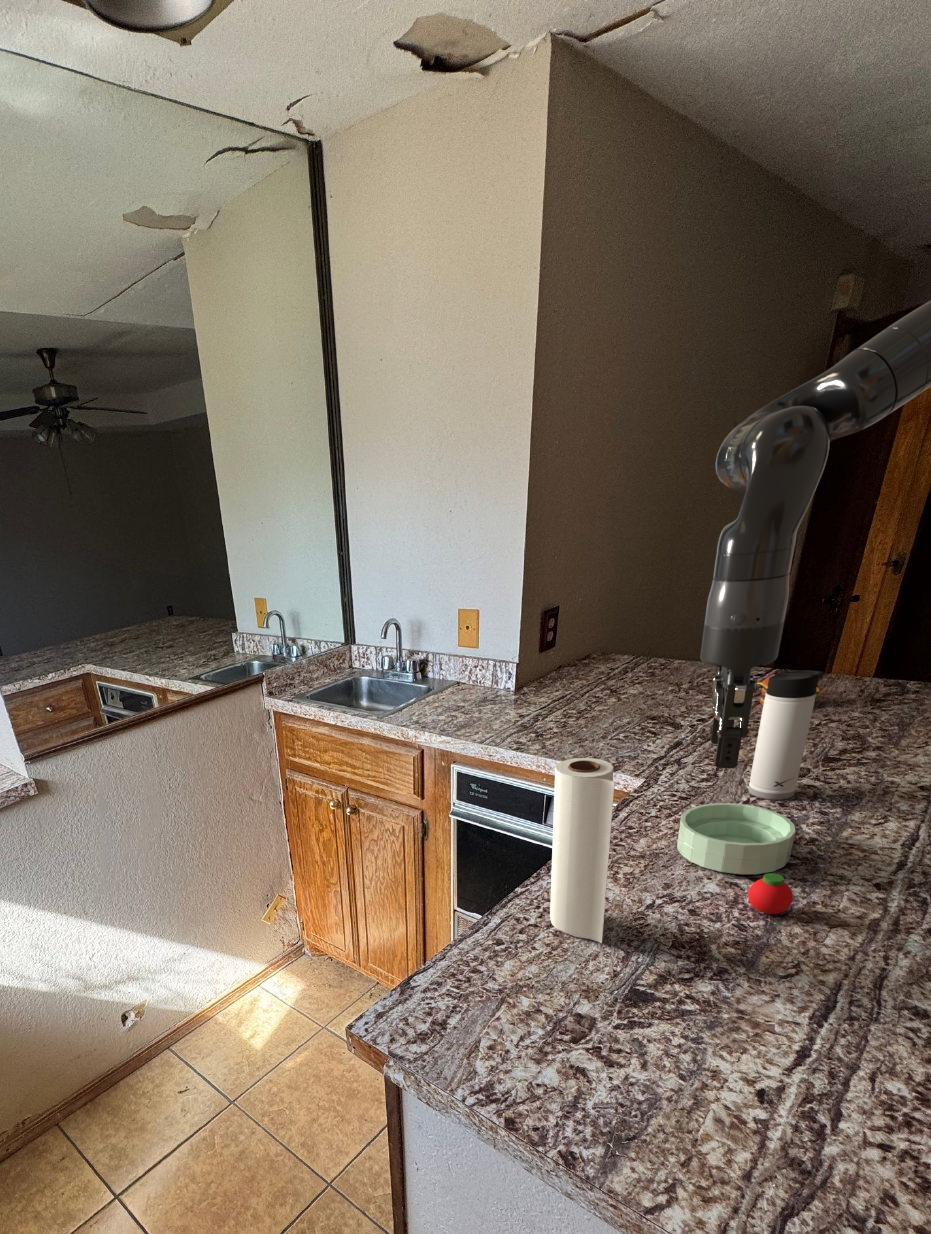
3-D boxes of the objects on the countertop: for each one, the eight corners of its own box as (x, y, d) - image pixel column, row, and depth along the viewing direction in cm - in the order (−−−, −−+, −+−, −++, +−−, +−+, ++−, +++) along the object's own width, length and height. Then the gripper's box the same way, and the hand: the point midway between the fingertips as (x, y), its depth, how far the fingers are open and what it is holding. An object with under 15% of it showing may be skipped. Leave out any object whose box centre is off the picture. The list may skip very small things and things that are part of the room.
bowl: (801, 848, 90) (808, 816, 88) (768, 888, 83) (775, 854, 81) (698, 825, 100) (702, 796, 97) (660, 860, 92) (664, 829, 90)
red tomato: (794, 909, 79) (802, 875, 76) (782, 925, 76) (789, 890, 74) (752, 897, 82) (759, 864, 80) (739, 913, 79) (746, 879, 77)
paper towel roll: (551, 907, 86) (556, 755, 76) (601, 911, 83) (613, 755, 74) (548, 939, 80) (553, 779, 70) (601, 944, 77) (615, 779, 68)
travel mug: (786, 804, 102) (813, 678, 93) (740, 794, 107) (762, 674, 98) (803, 791, 105) (831, 668, 96) (758, 782, 110) (780, 664, 101)
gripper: (794, 629, 65) (766, 777, 72) (775, 605, 76) (752, 736, 84) (708, 633, 69) (689, 775, 76) (701, 610, 80) (685, 735, 87)
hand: (722, 754), depth 80 cm, fingers open, 8 cm apart
